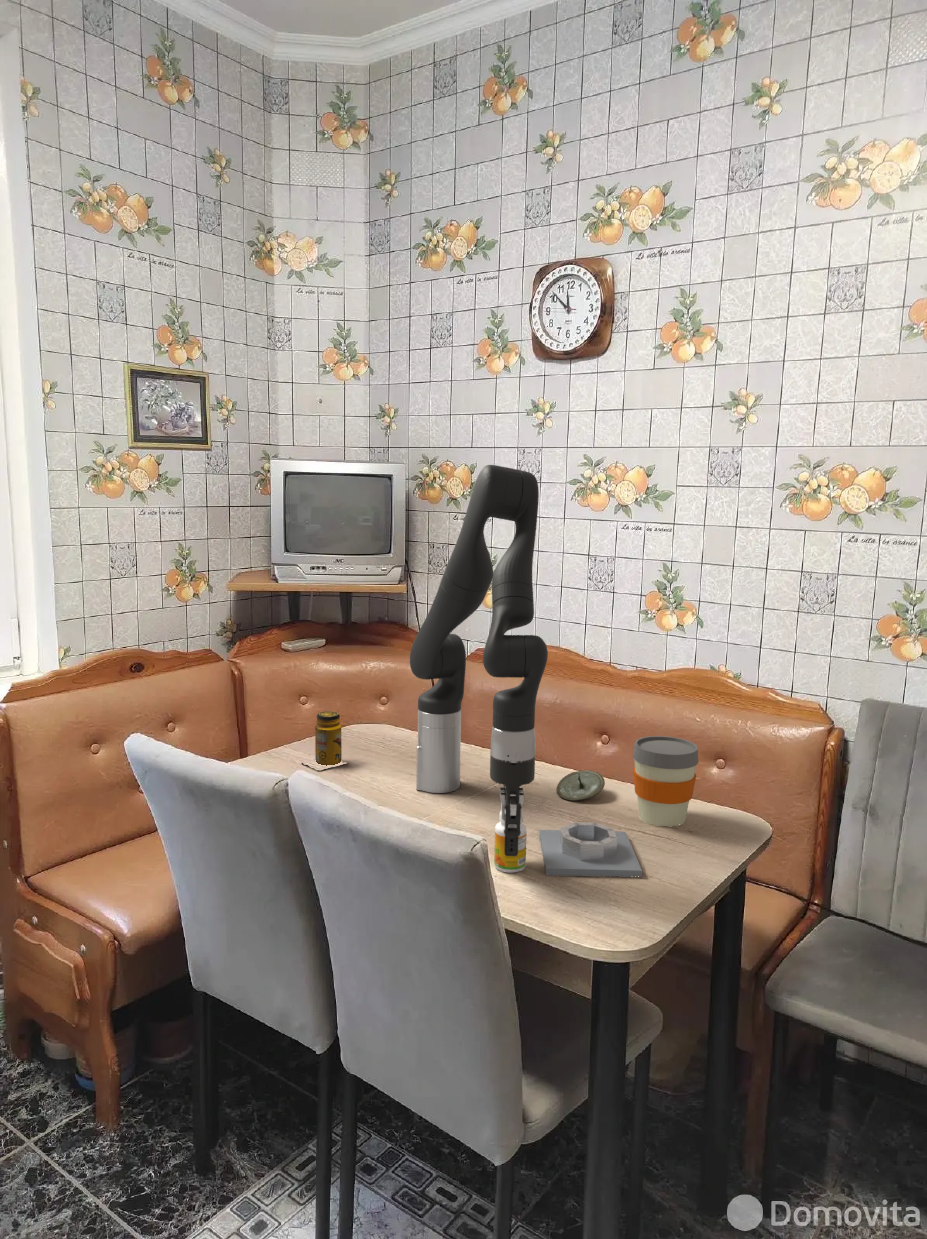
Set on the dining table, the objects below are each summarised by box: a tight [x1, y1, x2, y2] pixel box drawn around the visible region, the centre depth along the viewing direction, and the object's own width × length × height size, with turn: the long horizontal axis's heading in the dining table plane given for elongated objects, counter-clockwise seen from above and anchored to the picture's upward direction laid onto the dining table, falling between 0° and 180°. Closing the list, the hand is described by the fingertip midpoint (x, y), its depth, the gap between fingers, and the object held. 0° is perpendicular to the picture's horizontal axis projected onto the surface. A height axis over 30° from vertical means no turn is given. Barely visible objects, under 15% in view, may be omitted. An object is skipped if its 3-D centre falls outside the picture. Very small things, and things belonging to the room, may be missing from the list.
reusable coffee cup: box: [632, 735, 699, 827], centre depth 165 cm, size 13×13×15 cm
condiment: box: [314, 710, 343, 766], centre depth 194 cm, size 7×8×12 cm
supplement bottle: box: [493, 809, 528, 874], centre depth 143 cm, size 5×5×10 cm
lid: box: [556, 770, 606, 802], centre depth 178 cm, size 11×10×5 cm
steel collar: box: [560, 821, 617, 861], centre depth 148 cm, size 10×10×3 cm
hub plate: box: [538, 829, 643, 878], centre depth 149 cm, size 16×16×1 cm
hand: (510, 847), depth 144 cm, fingers closed on supplement bottle, 5 cm apart
